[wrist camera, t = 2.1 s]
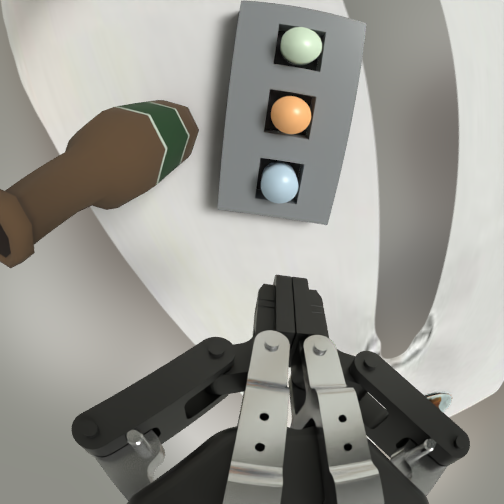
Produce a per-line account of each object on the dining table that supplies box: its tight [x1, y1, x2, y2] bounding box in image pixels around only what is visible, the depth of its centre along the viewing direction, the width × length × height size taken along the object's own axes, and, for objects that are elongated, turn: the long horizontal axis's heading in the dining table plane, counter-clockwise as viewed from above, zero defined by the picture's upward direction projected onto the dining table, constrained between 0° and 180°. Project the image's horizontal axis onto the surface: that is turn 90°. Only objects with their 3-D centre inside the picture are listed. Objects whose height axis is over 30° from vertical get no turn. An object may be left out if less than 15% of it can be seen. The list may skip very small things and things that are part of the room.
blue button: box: [261, 161, 298, 203], centre depth 28 cm, size 4×4×3 cm
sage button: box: [280, 27, 322, 66], centre depth 20 cm, size 4×4×3 cm
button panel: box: [218, 1, 366, 225], centre depth 25 cm, size 22×12×3 cm, turn 173°
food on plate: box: [427, 394, 452, 412], centre depth 60 cm, size 25×25×7 cm
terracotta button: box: [271, 96, 311, 134], centre depth 24 cm, size 4×4×3 cm
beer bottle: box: [0, 100, 199, 268], centre depth 18 cm, size 8×8×24 cm
